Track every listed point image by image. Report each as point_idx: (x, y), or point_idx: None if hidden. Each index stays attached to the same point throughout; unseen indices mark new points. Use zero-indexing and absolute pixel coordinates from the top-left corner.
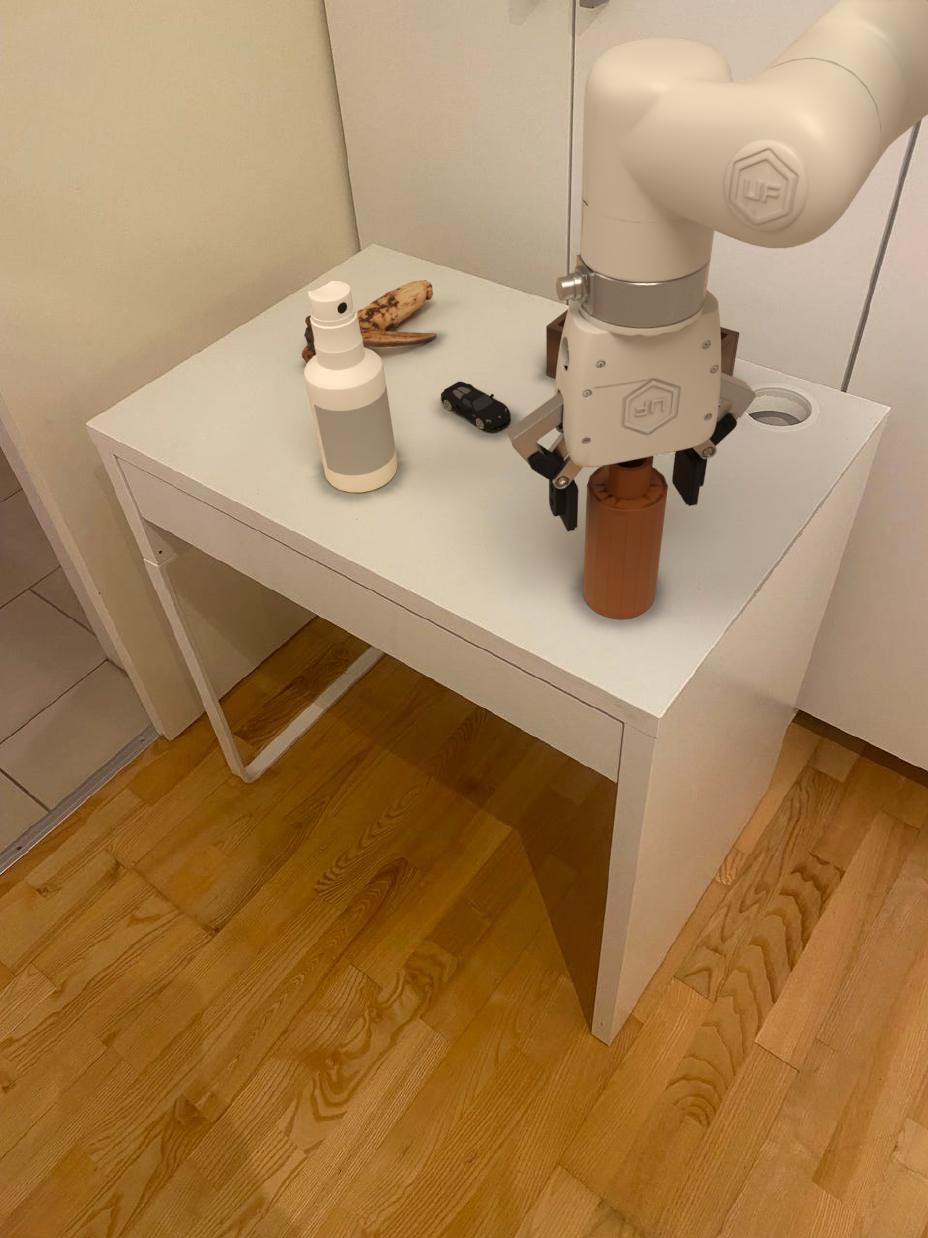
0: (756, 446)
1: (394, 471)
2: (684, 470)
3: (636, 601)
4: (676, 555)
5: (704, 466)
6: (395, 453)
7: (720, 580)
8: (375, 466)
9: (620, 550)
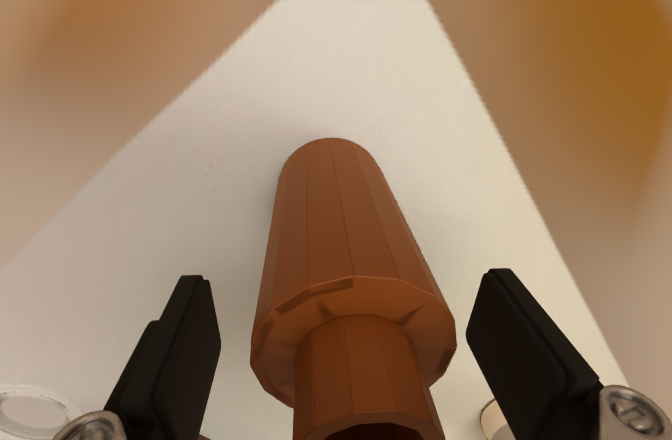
0: (68, 371)
1: (494, 406)
2: (191, 373)
3: (328, 148)
4: (225, 233)
5: (125, 378)
6: (493, 428)
7: (172, 172)
8: None
9: (381, 209)
